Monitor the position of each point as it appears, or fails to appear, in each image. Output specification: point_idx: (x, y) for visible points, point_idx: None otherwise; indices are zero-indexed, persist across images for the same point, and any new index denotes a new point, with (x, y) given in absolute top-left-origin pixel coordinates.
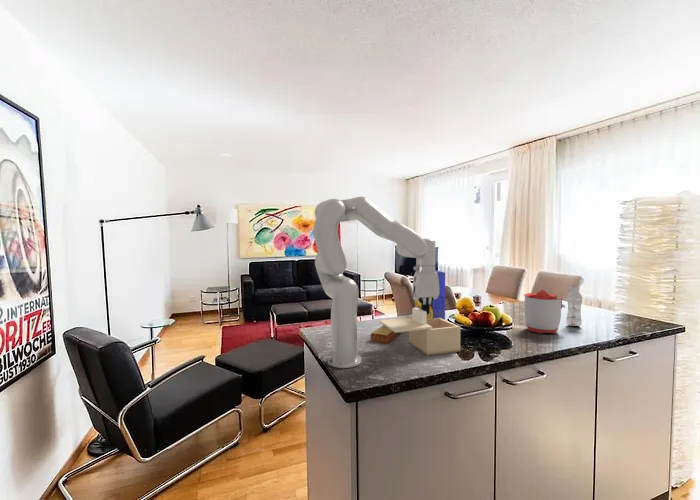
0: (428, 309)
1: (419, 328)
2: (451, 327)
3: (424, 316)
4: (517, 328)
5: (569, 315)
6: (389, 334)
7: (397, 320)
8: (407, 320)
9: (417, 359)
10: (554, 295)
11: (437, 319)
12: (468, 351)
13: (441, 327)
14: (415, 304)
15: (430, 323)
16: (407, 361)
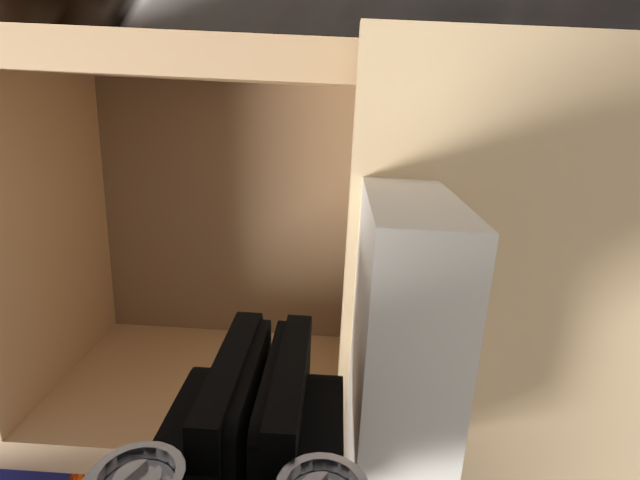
0: (236, 357)
1: (592, 29)
2: (29, 32)
3: (417, 204)
4: None
5: None
6: None
7: (610, 478)
8: (492, 432)
9: (518, 18)
10: None
11: (26, 437)
12: (8, 20)
13: (49, 341)
14: None
15: (136, 416)
16: (621, 8)
